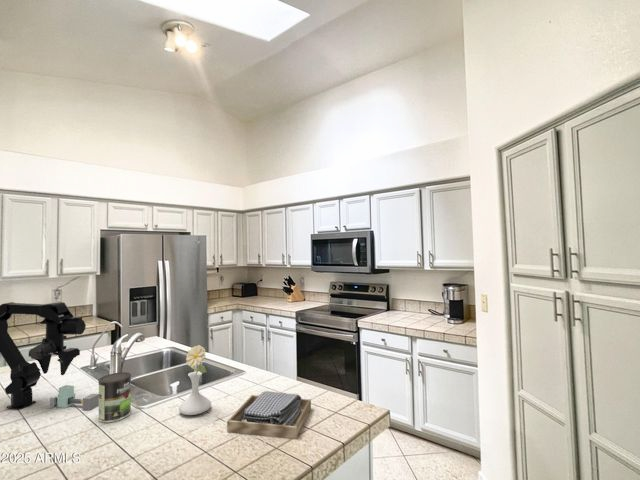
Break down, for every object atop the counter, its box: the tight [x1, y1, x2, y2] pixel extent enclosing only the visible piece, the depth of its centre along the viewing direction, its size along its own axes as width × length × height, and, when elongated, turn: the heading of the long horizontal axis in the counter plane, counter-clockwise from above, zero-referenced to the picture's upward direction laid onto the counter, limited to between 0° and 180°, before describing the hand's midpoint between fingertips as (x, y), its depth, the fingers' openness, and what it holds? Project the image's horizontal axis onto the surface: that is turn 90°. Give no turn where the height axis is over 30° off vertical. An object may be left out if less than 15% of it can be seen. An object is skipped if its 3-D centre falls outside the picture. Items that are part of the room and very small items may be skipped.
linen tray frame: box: [226, 394, 312, 440], centre depth 119 cm, size 24×21×4 cm
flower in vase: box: [178, 344, 212, 416], centre depth 127 cm, size 13×11×25 cm
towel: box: [242, 390, 302, 426], centre depth 119 cm, size 15×18×8 cm
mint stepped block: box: [56, 384, 76, 409], centre depth 133 cm, size 4×4×7 cm
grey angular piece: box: [45, 393, 99, 411], centre depth 132 cm, size 18×7×4 cm, turn 78°
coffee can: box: [97, 371, 132, 424], centre depth 124 cm, size 10×10×14 cm
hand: (54, 374), depth 134 cm, fingers open, 8 cm apart
